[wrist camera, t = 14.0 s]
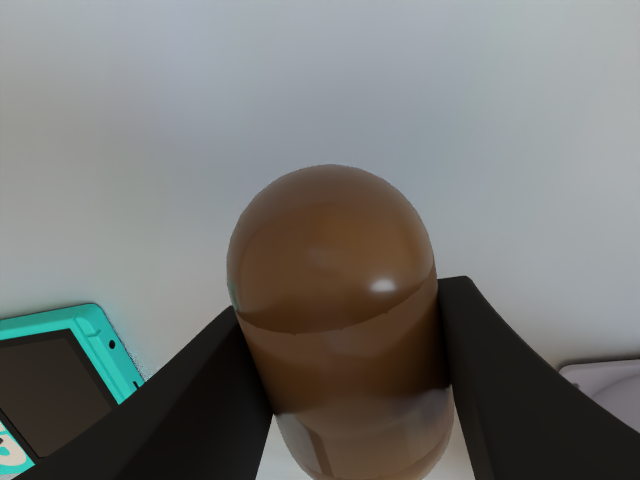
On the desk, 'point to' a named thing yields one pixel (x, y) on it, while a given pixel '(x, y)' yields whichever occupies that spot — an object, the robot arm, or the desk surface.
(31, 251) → the desk surface
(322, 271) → the brown egg capsule
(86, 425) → the handheld game console
